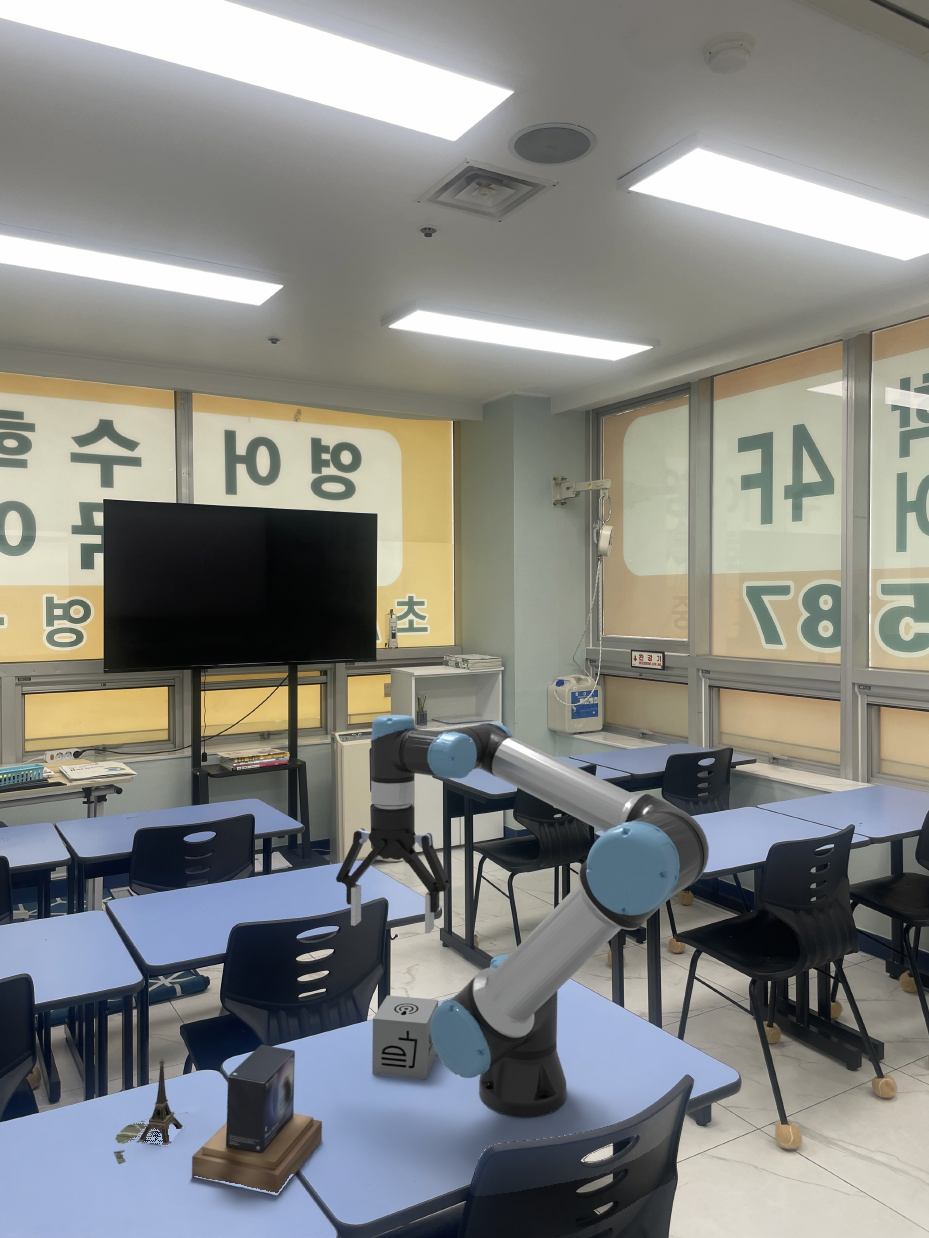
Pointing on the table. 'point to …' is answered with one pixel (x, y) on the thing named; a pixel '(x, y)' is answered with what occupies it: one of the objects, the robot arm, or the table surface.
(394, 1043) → the icon cube
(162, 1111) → the eiffel tower figurine
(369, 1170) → the table surface
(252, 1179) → the plinth
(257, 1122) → the small box
